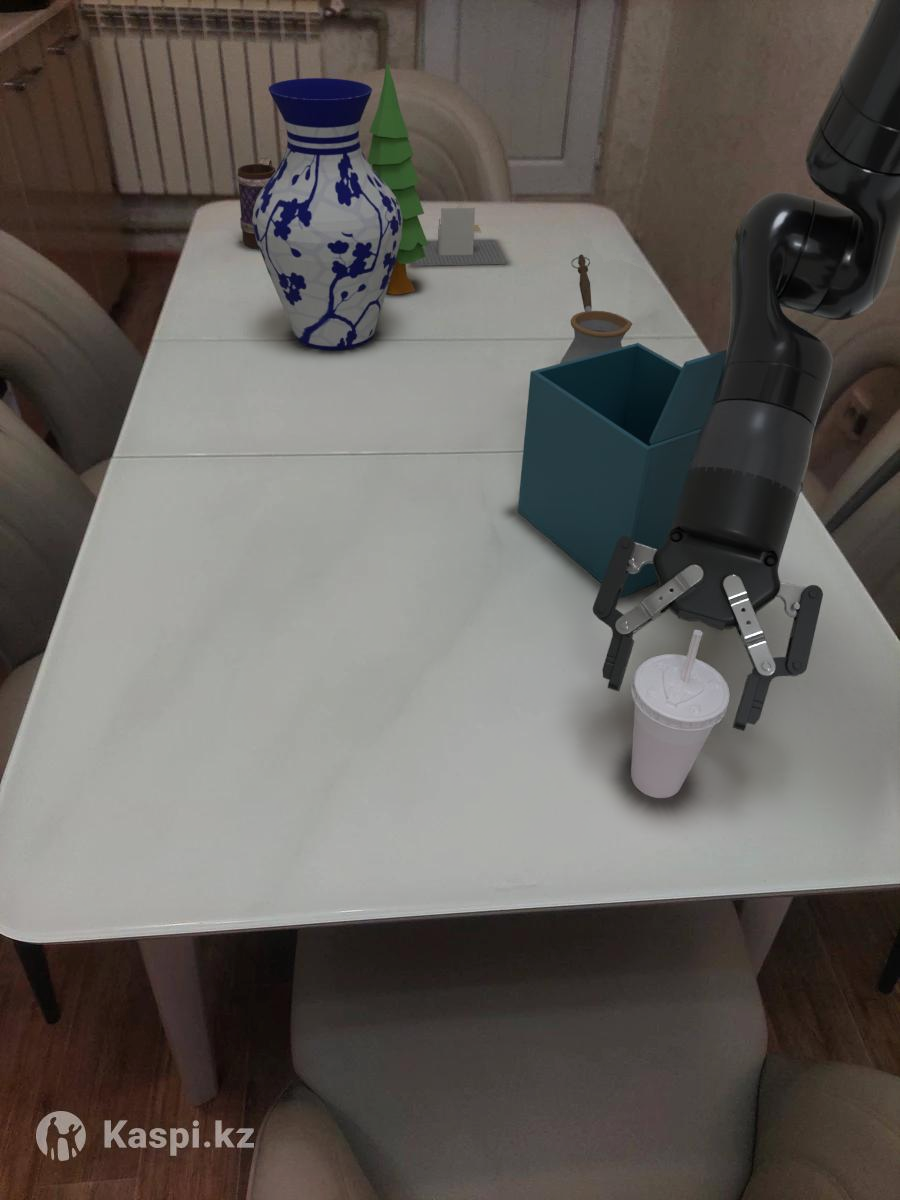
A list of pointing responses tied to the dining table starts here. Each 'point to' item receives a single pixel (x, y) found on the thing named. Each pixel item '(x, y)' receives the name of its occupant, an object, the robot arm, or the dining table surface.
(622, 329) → the coffee pot
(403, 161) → the decorative tree
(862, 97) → the robot arm
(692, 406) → the flap
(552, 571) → the dining table surface
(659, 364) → the open storage box
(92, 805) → the dining table surface
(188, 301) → the dining table surface
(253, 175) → the mug
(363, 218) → the vase
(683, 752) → the smoothie
